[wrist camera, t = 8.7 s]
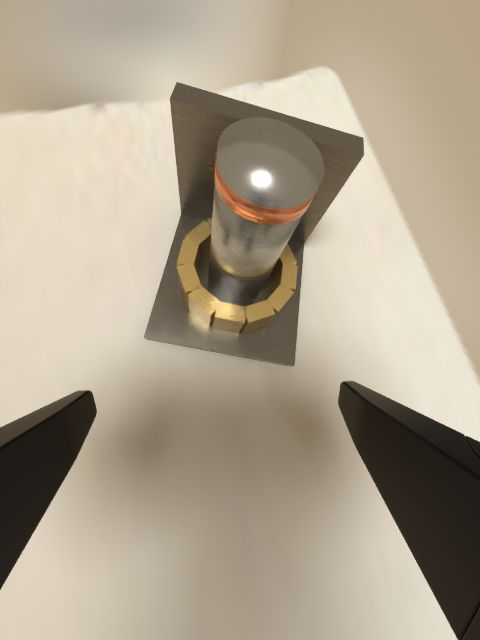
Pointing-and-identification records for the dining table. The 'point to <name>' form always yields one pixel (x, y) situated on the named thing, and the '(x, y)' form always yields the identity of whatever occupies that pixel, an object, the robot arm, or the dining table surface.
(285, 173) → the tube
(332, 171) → the collar stand
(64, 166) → the dining table surface
